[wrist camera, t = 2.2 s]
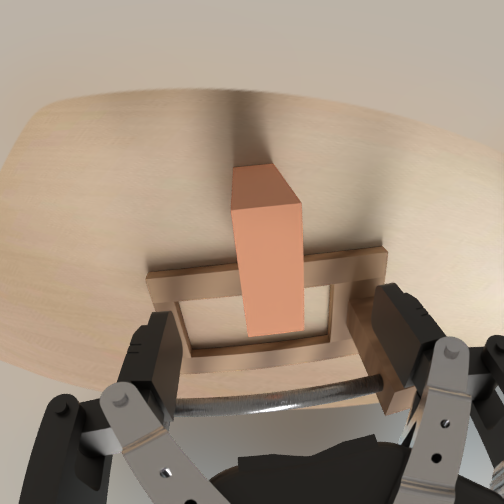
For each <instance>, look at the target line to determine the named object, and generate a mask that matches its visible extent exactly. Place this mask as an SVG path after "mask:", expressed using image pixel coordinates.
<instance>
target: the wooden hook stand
mask: <svg viewBox="0 0 504 504" xmlns="http://www.w3.org/2000/svg"><path fill="white" fill-rule="evenodd" d="M387 258H388V251H387V250H386V249H385V248H384V247H383V246H380V247H372V248H364V249H355V250H347V251H338V252H330V253H321V254H312V255H304V256H303V260H304V288H309V287H316V286H324V285H330V302H329V320H328V335H323V336H317V337H310V338H303V339H296V340H288V341H280V342H272V343H263V344H254V345H244V346H233V347H222V348H208V349H193V350H192V347H191V344H190V340H189V337H188V334H187V330H186V327H185V324H184V320H183V317H182V313H181V310H180V306H179V302H178V301H188V300H199V299H210V298H220V297H230V296H240V295H242V290H241V282H240V275H239V268H238V263H232V264H223V265H214V266H204V267H195V268H185V269H176V270H166V271H157V272H149V273H148V275H147V277H146V279H145V280H146V283H147V286H148V290H149V293H150V296H151V299H152V302H153V305H154V308H155V311H156V312H160V311H172V313H173V315H174V318H175V321H176V325H177V328H178V331H179V334H180V337H181V340H182V346H183V357H182V363H181V370H180V374H198V373H216V372H230V371H242V370H253V369H262V368H271V367H279V366H287V365H295V364H302V363H308V362H315V361H321V360H327V359H333V358H338V357H344V356H349V355H354V354H359V355H360V357H361V359H362V362H363V364H364V366H365V369H366V371H367V373H368V376H371V375H375V374H380V375H381V376H382V378H383V383H384V388H383V391H381V392H377V393H376V395H377V397H378V400H379V402H380V404H381V407H382V409H383V412H384V414H385V416H386V415H390V414H393V413H397V412H400V411H403V410H406V409H409V408H411V405H412V401H413V398H414V395H415V392H416V390H417V389H416V387H415V385H414V386H411V387H408V388H404V387H403V385H402V383H401V381H400V379H399V377H398V375H397V373H396V371H395V370H394V368H393V366H392V364H391V362H390V360H389V358H388V356H387V355H386V353H385V351H384V349H383V347H382V345H381V343H380V342H379V340H378V338H377V336H376V334H375V333H374V331H373V328H372V324H371V314H372V307H373V301H374V294H375V288H376V286H378V285H384V282H385V274H386V267H387Z"/></svg>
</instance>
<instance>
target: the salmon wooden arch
mask: <svg viewBox="0 0 504 504" xmlns="http://www.w3.org/2000/svg"><path fill="white" fill-rule="evenodd" d="M231 216H232V223H233V231H234V238H235V246H236V253H237V261H238V268H239V275H240V282H241V290H242V297H243V304H244V311H245V318H246V325H247V331H248V337H254V336H263V335H272V334H280V333H288V332H295V331H303V330H304V260H303V227H302V203H301V202H300V200H299V199H298V197H297V196H296V195H295V193H294V192H293V190H292V189H291V187H290V186H289V185H288V183H287V182H286V180H285V179H284V178H283V176H282V175H281V173H280V172H279V171H278V169H277V168H276V167H275V165H274V164H262V165H252V166H243V167H234V168H233V181H232V198H231Z"/></svg>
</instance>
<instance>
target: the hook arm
mask: <svg viewBox="0 0 504 504" xmlns="http://www.w3.org/2000/svg"><path fill="white" fill-rule="evenodd" d="M383 388H384V383H383V378H382V376H381V375H380V374H375V375H371V376H367V377H362V378H358V379H353V380H348V381H343V382H338V383H333V384H327V385H322V386H316V387H310V388H303V389H296V390H289V391H282V392H273V393H264V394H254V395H243V396H230V397H213V398H182V399H176V404H175V412H174V417H198V416H200V417H201V416H226V415H240V414H253V413H263V412H273V411H281V410H289V409H296V408H303V407H309V406H315V405H321V404H327V403H332V402H337V401H342V400H347V399H352V398H356V397H361V396H365V395H369V394H373V393H377V392H381V391H383ZM169 426H170V421H164V422H163V427H164V428H165V429H166V430H167V431H168V432H169Z"/></svg>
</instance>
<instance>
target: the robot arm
mask: <svg viewBox="0 0 504 504" xmlns="http://www.w3.org/2000/svg"><path fill="white" fill-rule="evenodd" d="M371 324H372V328H373V331H374V333H375V334H376V336H377V338H378V340H379V342H380V343H381V345H382V347H383V349H384V351H385V353H386V355H387V356H388V358H389V360H390V362H391V364H392V366H393V368H394V370H395V371H396V373H397V375H398V377H399V379H400V381H401V383H402V385H403V387H404V388H408V387H411V386H414V385H415V387H416V389H417V390H416V392H415V395H414V398H413V401H412V405H411V408H410V412H409V415H408V418H407V421H406V424H405V427H404V430H403V432H402V435H401V437H400V439H399V442H398V443H397V444H395V443H390V442H377V440H376V437H375V435H374V434H373V435H369V436H365V437H361V438H357V439H353V440H349V441H345V442H342V443H340V444H337V445H336V446H333V447H331V448H329V449H327V450H324V451H322V452H320V453H317V454H315V455H312V456H290V455H277V454H269V455H260V456H249V457H238V466H235V467H232V468H229V469H226V470H224V471H222V472H220V473H218V474H217V475H215V476H214V477H212V478H211V479H210V480H207V478H205V476H204V475H203V474H202V473H201V472H200V470H199V469H198V468H197V467H196V466H195V465H194V463H193V462H192V461H191V460H190V459H189V457H188V456H187V455H186V454H185V453H184V452H183V450H182V449H181V448H180V446H179V445H178V444H177V443H176V441H175V440H174V439H173V437H172V436H171V435H170V434H169V432H168V431H167V430H166V429H165V428H164V427H163V422H164V421H173V420H174V412H175V404H176V397H177V390H178V383H179V376H180V370H181V363H182V357H183V346H182V340H181V337H180V334H179V331H178V328H177V325H176V321H175V318H174V315H173V313H172V311H160V312H152V314H151V316H150V319H149V322H148V325H141V326H140V327H139V329H138V330H137V331H136V332H135V333H134V334H133V337H132V339H131V342H130V346H129V348H128V351H127V354H126V356H125V359H124V362H123V365H122V368H121V371H120V374H119V377H118V380H117V383H114V384H112V385H110V386H108V387H107V388H106V389H105V390H104V391H103V393H102V394H101V397H100V398H99V399H95V400H90V401H86V402H81V403H79V401H78V400H77V399H76V398H75V397H74V396H73V395H70V394H61V395H58V396H56V397H55V398H53V399H52V400H51V401H50V402H49V404H48V406H47V408H46V411H45V413H44V417H43V419H42V422H41V425H40V428H39V431H38V434H37V437H36V440H35V443H34V446H33V449H32V453H31V456H30V460H29V463H28V467H27V471H26V474H25V479H24V482H23V487H22V491H21V495H20V500H19V504H106V502H107V493H108V485H109V477H110V469H111V463H112V456H113V454H116V453H121V452H122V454H123V456H124V458H125V460H126V461H127V463H128V465H129V467H130V468H131V470H132V471H133V473H134V475H135V476H136V478H137V479H138V481H139V483H140V484H141V486H142V487H143V489H144V490H145V492H146V493H147V494H148V496H149V497H150V499H151V500H152V502H153V503H154V504H504V405H503V403H502V401H501V399H500V398H499V396H498V394H497V392H496V391H495V388H496V387H497V385H498V386H499V387H500V389H501V391H502V392H503V394H504V336H501V335H493V336H491V337H489V338H488V340H487V342H486V344H485V346H484V347H468V346H467V345H466V344H465V343H464V342H463V341H462V340H460V339H458V338H455V337H447V336H446V335H445V334H444V332H443V331H442V330H441V328H440V327H439V326H438V325H437V323H436V322H435V321H434V319H433V318H432V317H431V316H430V315H429V314H428V312H427V311H426V309H425V308H423V306H422V304H421V303H420V302H419V301H418V300H417V299H416V298H415V297H413V296H412V295H410V294H408V293H403V292H402V291H401V289H400V288H399V287H398V286H397V284H396V283H389V284H384V285H378V286H376V288H375V294H374V301H373V307H372V314H371ZM469 416H471V418H472V420H473V422H474V424H475V427H476V429H477V431H478V433H479V435H480V437H481V439H482V442H483V444H484V446H485V448H486V450H487V453H488V455H489V458H490V460H491V462H492V465H493V467H494V472H493V475H492V481H491V483H490V489H488V488H486V487H484V486H482V485H480V484H477V483H475V482H473V481H471V480H469V479H467V478H465V477H463V476H461V475H459V474H458V473H459V469H460V465H461V460H462V456H463V451H464V446H465V441H466V436H467V430H468V424H469Z"/></svg>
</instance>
